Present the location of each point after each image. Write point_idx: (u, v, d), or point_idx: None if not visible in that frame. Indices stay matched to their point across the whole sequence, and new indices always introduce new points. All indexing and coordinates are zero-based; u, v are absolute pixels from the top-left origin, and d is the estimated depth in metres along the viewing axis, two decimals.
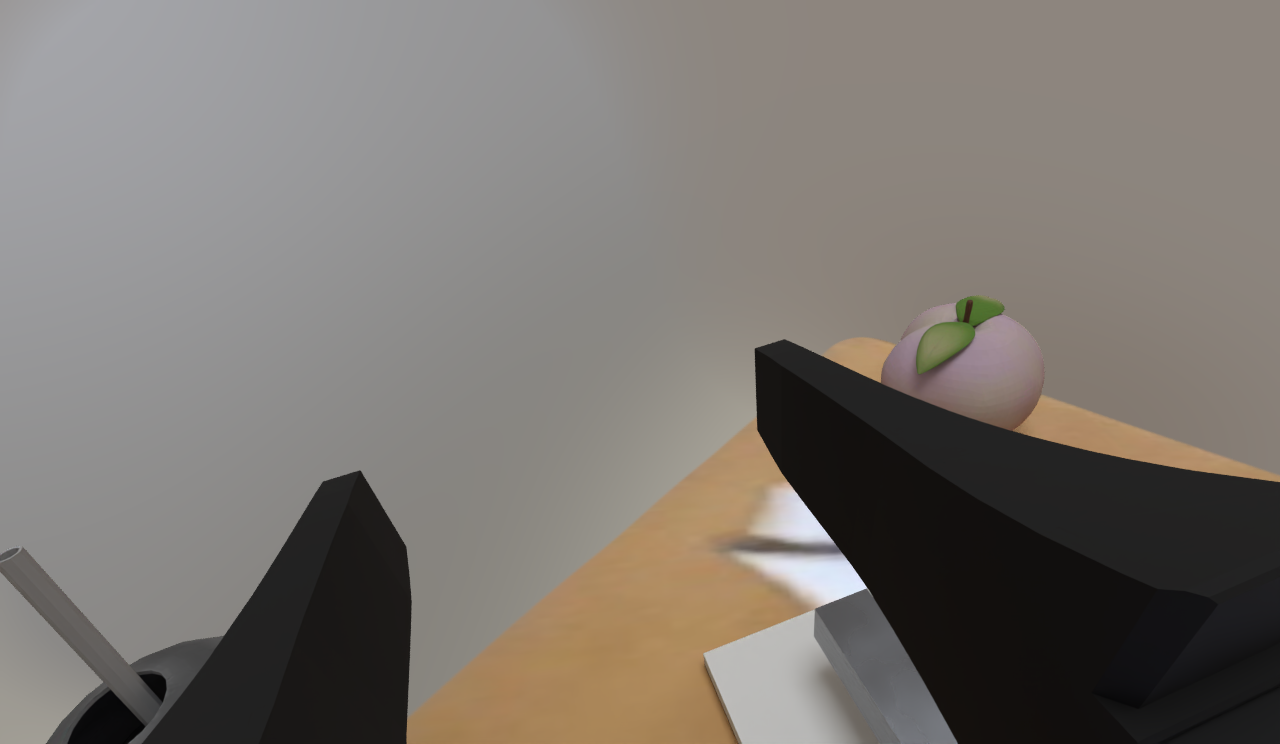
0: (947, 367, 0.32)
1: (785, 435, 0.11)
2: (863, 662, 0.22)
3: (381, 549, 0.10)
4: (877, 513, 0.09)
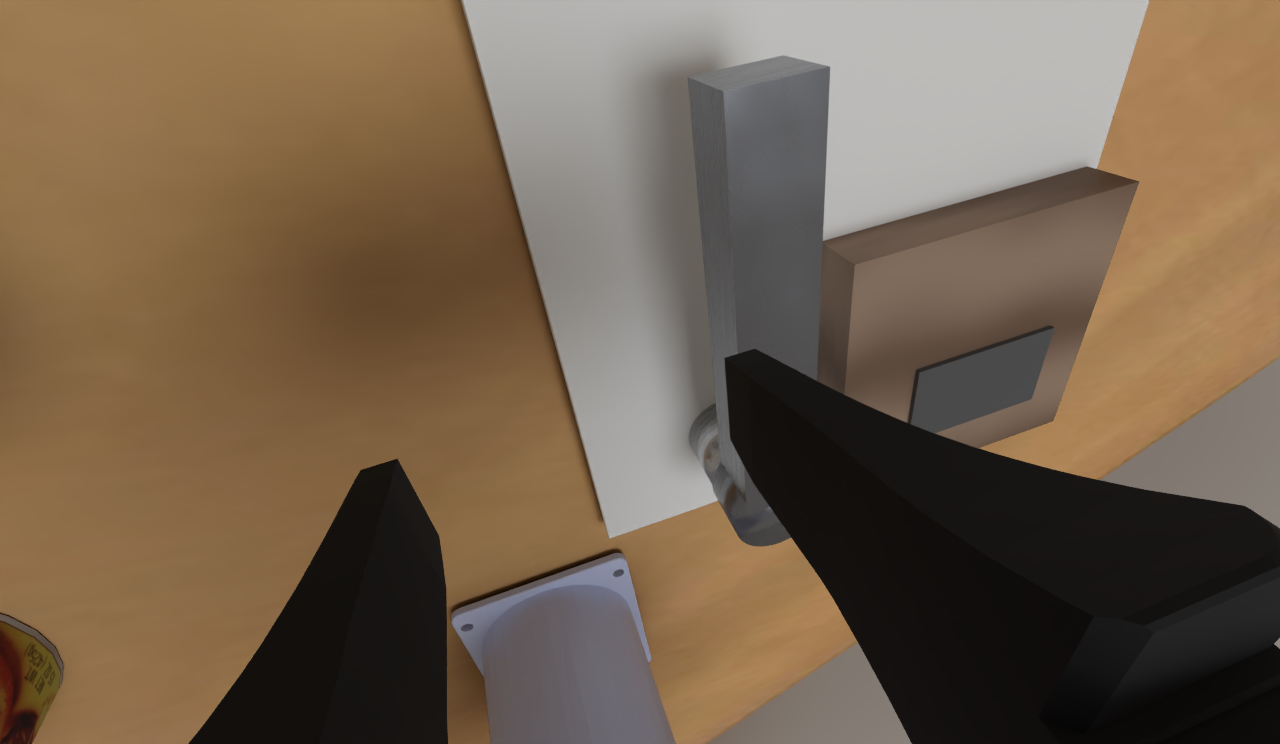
0: None
1: (755, 445, 0.11)
2: (749, 209, 0.14)
3: (419, 537, 0.10)
4: (840, 527, 0.08)
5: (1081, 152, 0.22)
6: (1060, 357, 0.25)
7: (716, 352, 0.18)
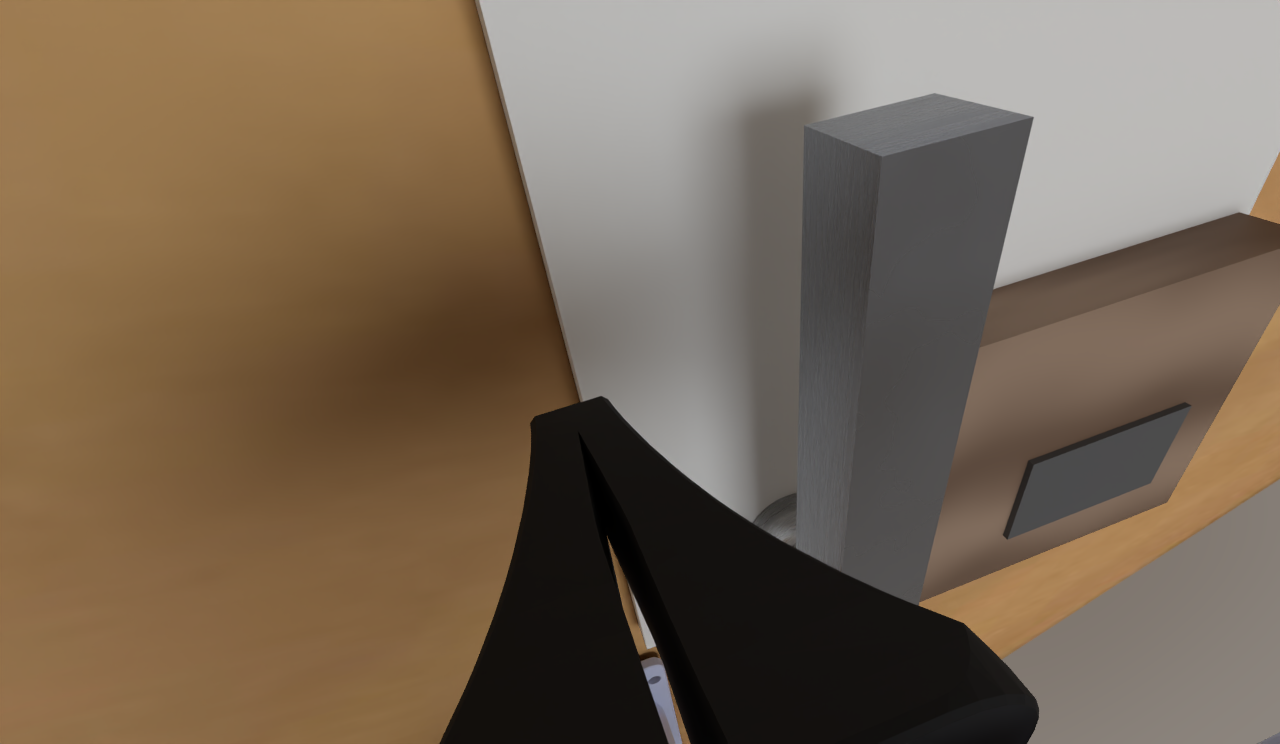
0: None
1: (597, 498, 0.10)
2: (892, 314, 0.10)
3: (590, 480, 0.10)
4: (647, 598, 0.08)
5: (1235, 196, 0.18)
6: (1188, 435, 0.20)
7: (805, 469, 0.14)
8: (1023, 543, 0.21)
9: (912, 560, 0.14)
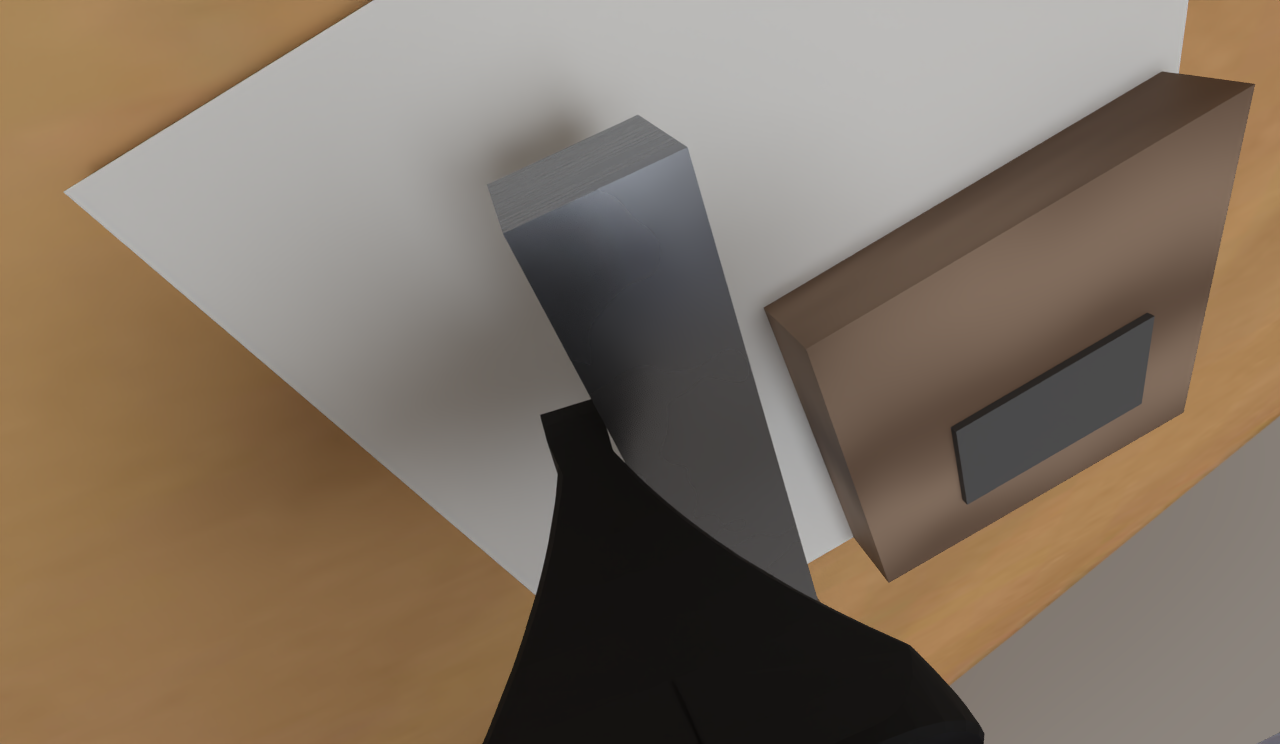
0: None
1: None
2: (617, 377, 0.09)
3: None
4: None
5: (1146, 56, 0.14)
6: (1174, 342, 0.17)
7: None
8: (997, 499, 0.19)
9: None
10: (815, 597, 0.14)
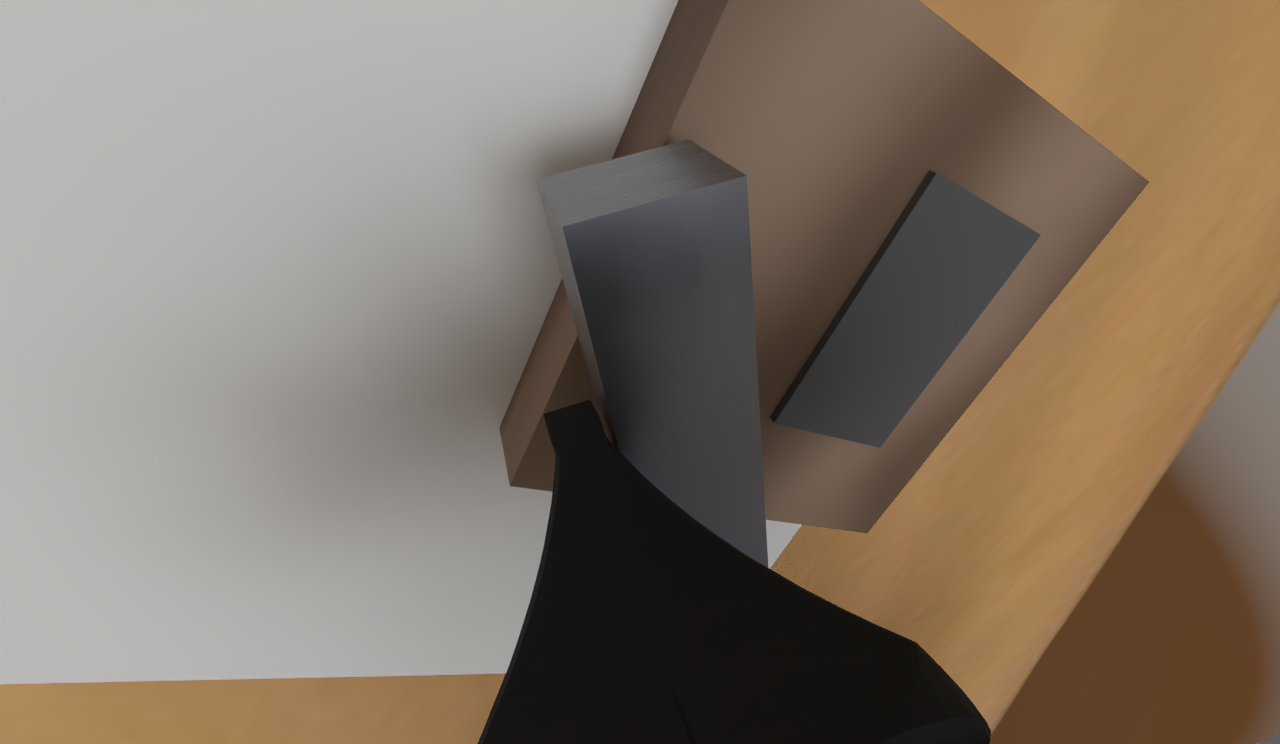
0: None
1: None
2: (635, 384, 0.09)
3: None
4: None
5: None
6: (1025, 153, 0.12)
7: None
8: (928, 415, 0.15)
9: None
10: None
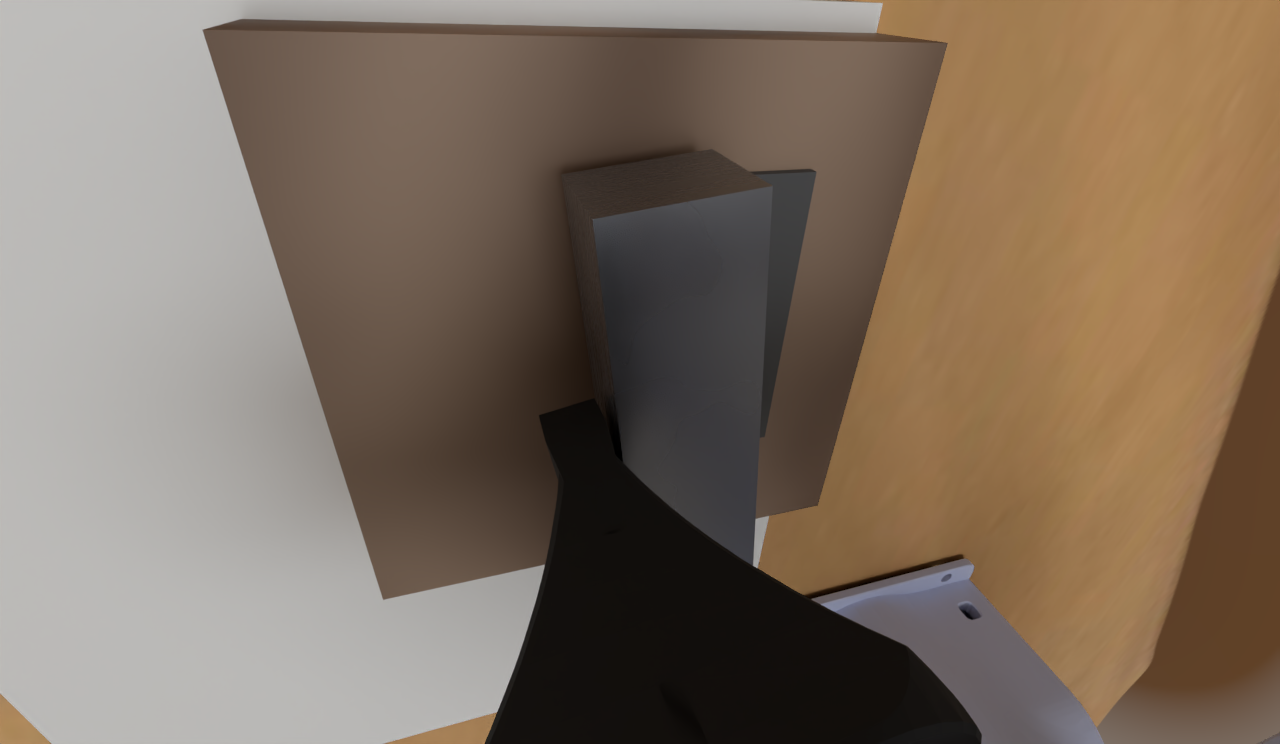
0: None
1: None
2: (645, 383, 0.09)
3: None
4: None
5: (206, 56, 0.09)
6: (732, 102, 0.10)
7: None
8: (809, 384, 0.14)
9: None
10: None
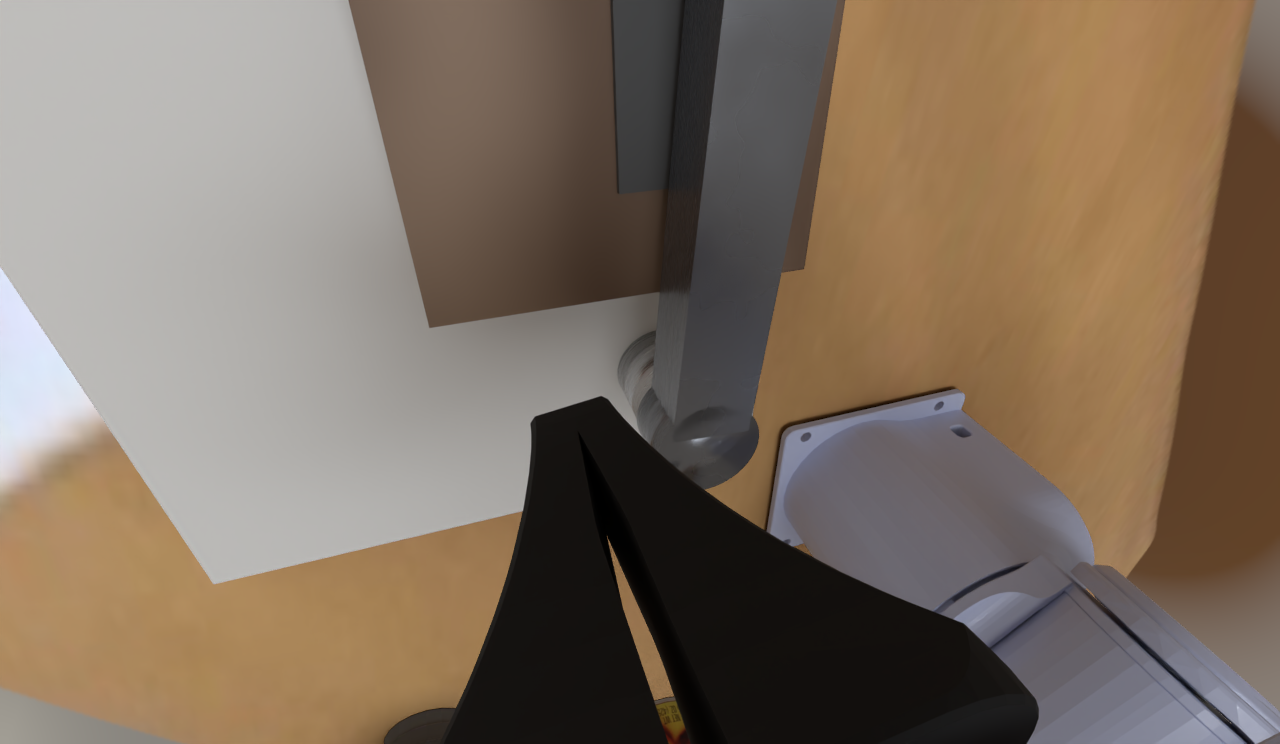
0: None
1: (597, 498, 0.10)
2: (745, 16, 0.11)
3: (590, 480, 0.10)
4: (647, 598, 0.08)
5: None
6: None
7: (670, 233, 0.15)
8: None
9: (750, 338, 0.16)
10: (761, 365, 0.16)
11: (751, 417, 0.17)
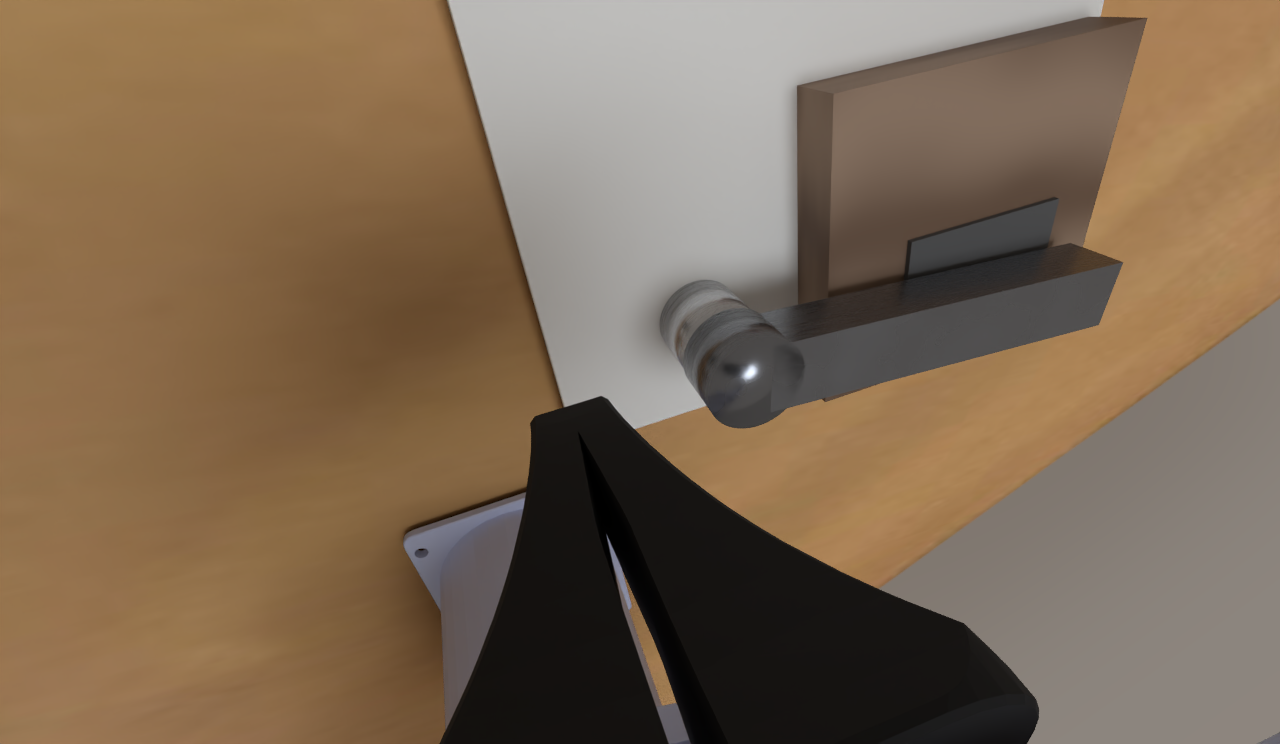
0: None
1: (597, 498, 0.10)
2: (1056, 290, 0.20)
3: (591, 480, 0.10)
4: (648, 598, 0.08)
5: None
6: (1066, 240, 0.22)
7: (900, 287, 0.20)
8: None
9: (861, 375, 0.19)
10: (835, 394, 0.19)
11: (784, 408, 0.19)
